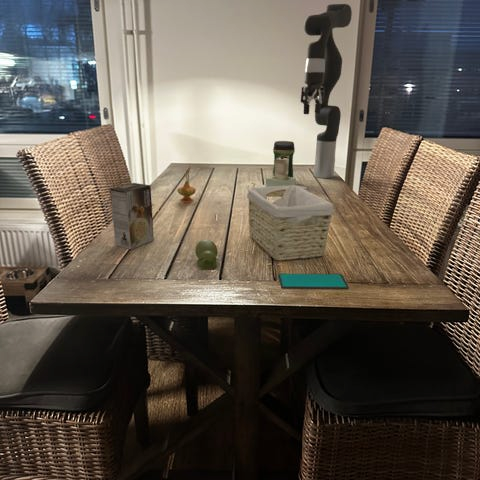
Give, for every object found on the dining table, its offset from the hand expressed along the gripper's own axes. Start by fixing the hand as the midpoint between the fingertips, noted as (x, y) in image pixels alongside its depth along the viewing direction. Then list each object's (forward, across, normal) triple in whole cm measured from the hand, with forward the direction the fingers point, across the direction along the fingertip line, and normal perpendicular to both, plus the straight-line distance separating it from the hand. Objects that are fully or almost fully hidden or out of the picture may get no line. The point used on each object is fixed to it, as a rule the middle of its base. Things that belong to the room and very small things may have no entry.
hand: (311, 113), depth 180 cm
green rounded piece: (+32, +88, +27) cm, 98 cm away
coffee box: (+31, +92, +2) cm, 97 cm away
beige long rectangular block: (+30, +11, -6) cm, 32 cm away
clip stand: (+31, +11, -6) cm, 34 cm away
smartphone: (+32, +80, +52) cm, 101 cm away
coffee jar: (+31, -2, -14) cm, 35 cm away
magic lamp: (+31, +51, -21) cm, 63 cm away
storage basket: (+32, +65, +34) cm, 79 cm away
